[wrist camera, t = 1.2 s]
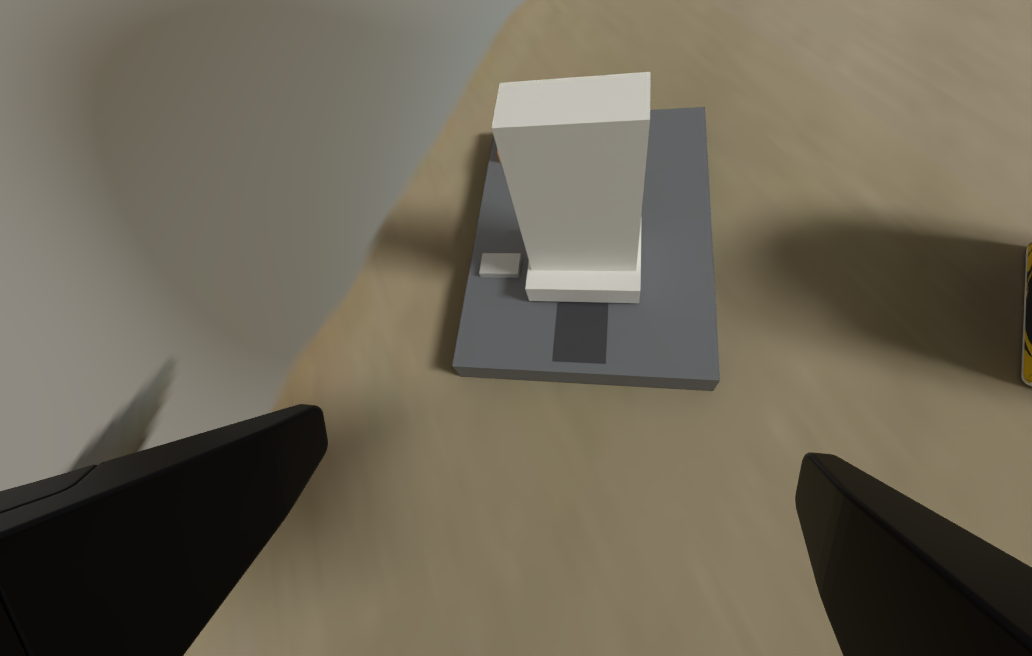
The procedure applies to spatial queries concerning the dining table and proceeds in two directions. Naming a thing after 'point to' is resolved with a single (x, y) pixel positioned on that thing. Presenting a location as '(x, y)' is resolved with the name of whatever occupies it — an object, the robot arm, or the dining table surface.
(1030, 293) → the medicine bottle
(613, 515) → the dining table surface
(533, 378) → the switch panel
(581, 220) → the tab
